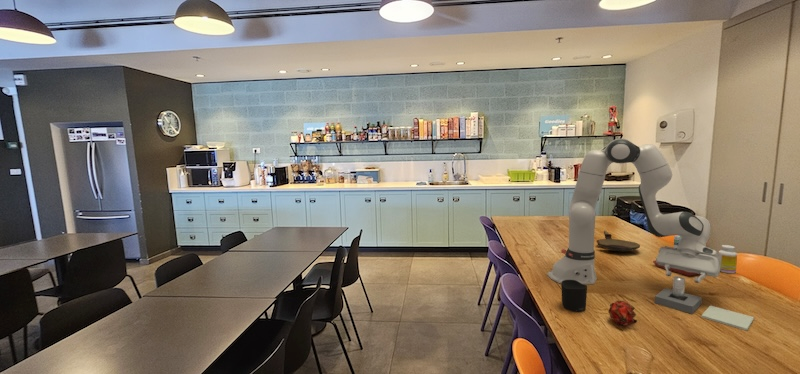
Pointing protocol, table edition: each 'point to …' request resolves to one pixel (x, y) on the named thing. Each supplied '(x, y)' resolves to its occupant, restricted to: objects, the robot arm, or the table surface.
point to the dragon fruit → (622, 313)
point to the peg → (678, 288)
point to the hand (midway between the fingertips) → (682, 278)
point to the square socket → (678, 301)
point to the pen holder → (573, 295)
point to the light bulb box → (676, 241)
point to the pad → (728, 317)
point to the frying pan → (616, 244)
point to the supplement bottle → (727, 259)
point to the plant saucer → (676, 270)
